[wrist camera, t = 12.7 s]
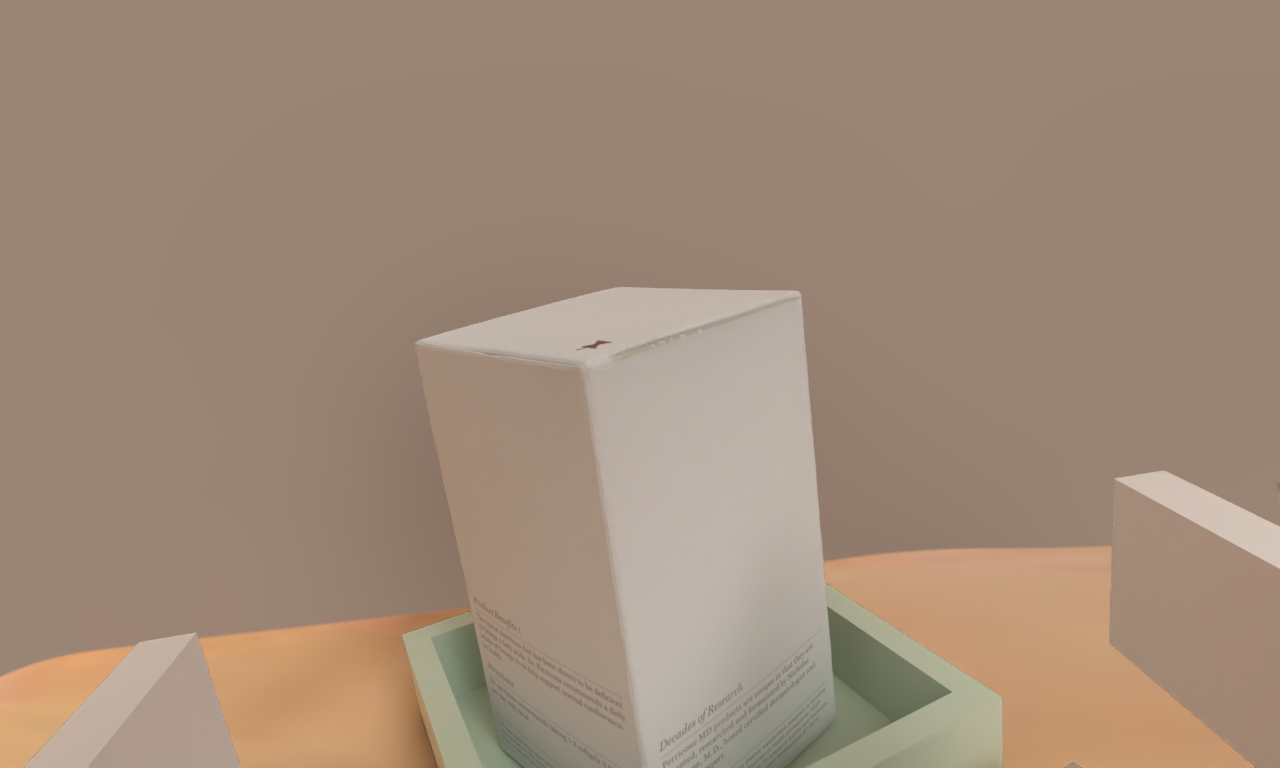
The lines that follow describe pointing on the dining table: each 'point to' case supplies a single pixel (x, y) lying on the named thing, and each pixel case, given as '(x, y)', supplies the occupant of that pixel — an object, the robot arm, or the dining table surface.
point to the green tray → (833, 764)
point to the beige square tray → (1073, 765)
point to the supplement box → (639, 526)
